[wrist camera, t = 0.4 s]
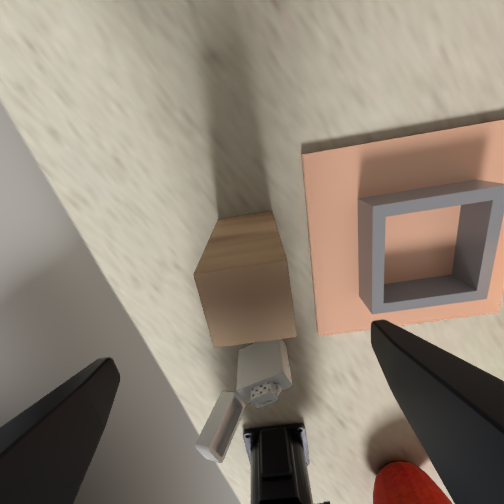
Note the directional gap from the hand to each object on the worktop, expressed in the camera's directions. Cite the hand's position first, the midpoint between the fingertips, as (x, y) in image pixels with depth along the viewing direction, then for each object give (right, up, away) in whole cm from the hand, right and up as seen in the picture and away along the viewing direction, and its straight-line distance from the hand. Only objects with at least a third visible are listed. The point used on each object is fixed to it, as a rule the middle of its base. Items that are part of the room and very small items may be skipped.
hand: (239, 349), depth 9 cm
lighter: (0, -6, +16) cm, 17 cm away
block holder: (+12, +4, +11) cm, 17 cm away
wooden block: (0, +4, +11) cm, 12 cm away
